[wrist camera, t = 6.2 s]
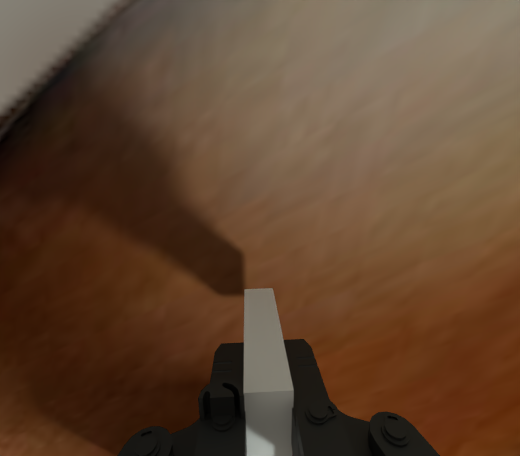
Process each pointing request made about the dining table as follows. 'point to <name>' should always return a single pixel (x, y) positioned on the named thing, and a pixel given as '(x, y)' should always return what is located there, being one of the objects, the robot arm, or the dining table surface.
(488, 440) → the dining table surface
